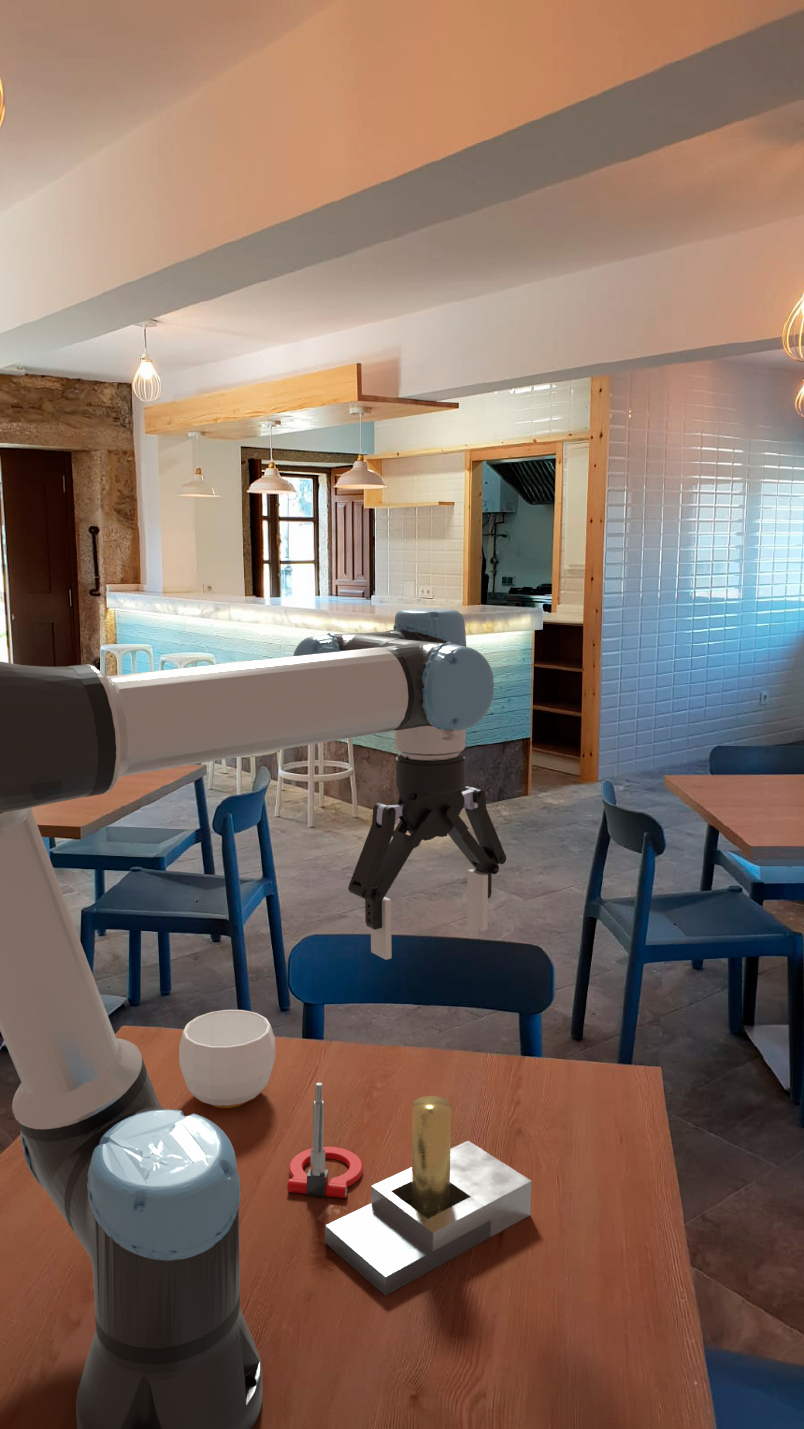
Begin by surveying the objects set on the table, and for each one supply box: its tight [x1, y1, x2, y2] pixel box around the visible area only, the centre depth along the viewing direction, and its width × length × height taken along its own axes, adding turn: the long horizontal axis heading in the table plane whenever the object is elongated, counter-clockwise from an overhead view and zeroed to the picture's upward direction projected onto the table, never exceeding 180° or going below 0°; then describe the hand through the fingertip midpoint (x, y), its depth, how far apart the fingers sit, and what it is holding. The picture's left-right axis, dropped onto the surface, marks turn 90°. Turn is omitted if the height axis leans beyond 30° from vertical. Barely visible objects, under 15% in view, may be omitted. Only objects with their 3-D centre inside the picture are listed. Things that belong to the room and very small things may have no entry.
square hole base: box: [324, 1140, 532, 1297], centre depth 110 cm, size 20×10×4 cm, turn 129°
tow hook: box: [286, 1082, 363, 1199], centre depth 119 cm, size 8×13×9 cm
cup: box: [178, 1009, 276, 1109], centre depth 136 cm, size 12×12×10 cm
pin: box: [411, 1095, 452, 1219], centre depth 109 cm, size 4×4×14 cm
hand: (430, 940), depth 116 cm, fingers open, 13 cm apart
